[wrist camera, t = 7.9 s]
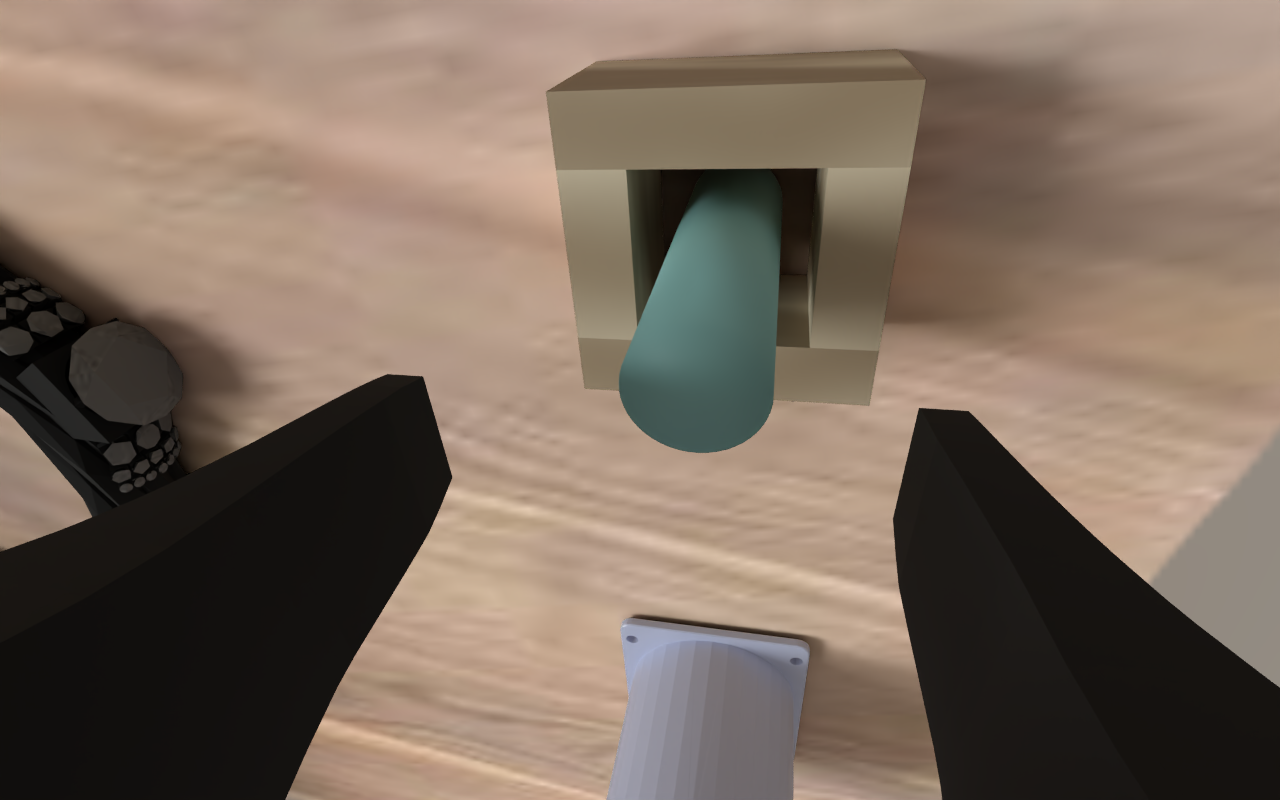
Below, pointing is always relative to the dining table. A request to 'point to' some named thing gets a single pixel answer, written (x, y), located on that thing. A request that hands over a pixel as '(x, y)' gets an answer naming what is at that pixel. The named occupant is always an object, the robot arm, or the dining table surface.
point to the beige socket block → (740, 139)
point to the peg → (711, 319)
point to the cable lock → (89, 395)
